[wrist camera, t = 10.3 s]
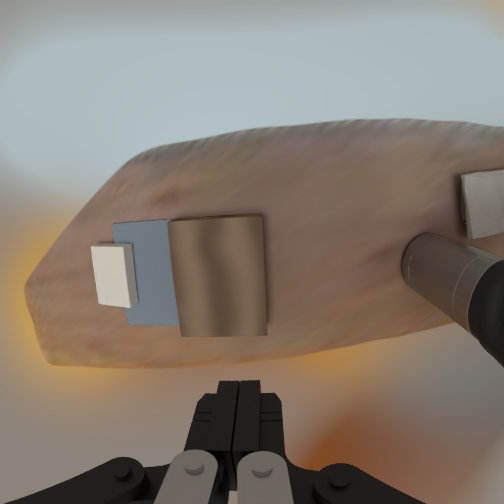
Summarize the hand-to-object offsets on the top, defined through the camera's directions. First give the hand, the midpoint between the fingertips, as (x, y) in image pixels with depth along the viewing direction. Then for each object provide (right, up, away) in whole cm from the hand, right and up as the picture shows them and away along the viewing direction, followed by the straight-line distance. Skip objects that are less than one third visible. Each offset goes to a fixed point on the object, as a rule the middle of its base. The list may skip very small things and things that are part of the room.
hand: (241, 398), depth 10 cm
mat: (-15, +2, +33) cm, 36 cm away
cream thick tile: (-20, +2, +30) cm, 36 cm away
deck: (-4, +3, +32) cm, 33 cm away
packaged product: (+42, +9, +27) cm, 50 cm away
